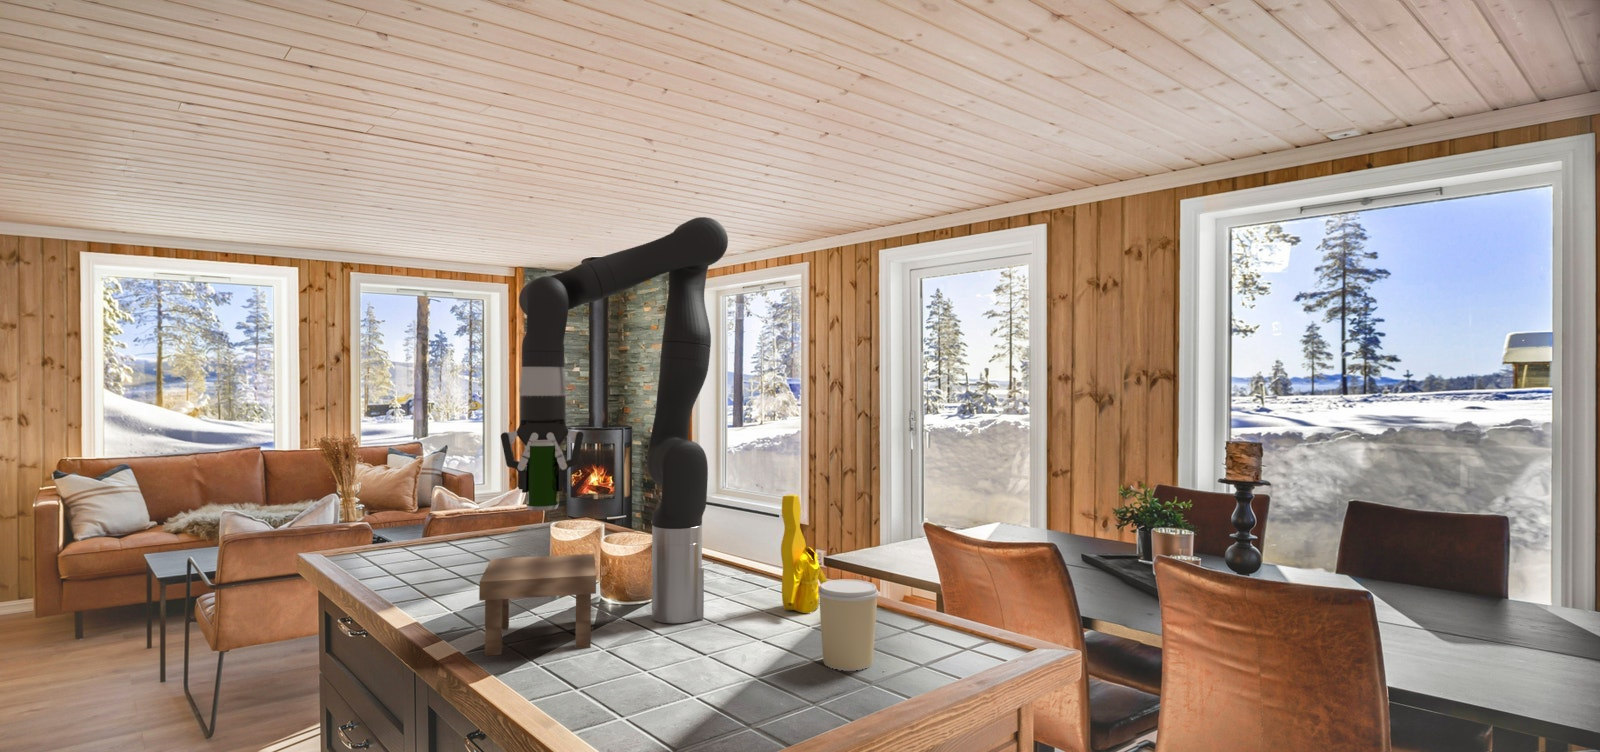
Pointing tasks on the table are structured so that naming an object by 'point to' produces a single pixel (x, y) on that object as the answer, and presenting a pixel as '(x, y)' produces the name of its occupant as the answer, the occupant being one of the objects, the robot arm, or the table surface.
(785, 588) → the yellow raincoat figure
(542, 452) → the beer can
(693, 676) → the table surface
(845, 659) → the coffee cup
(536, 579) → the walnut stool
